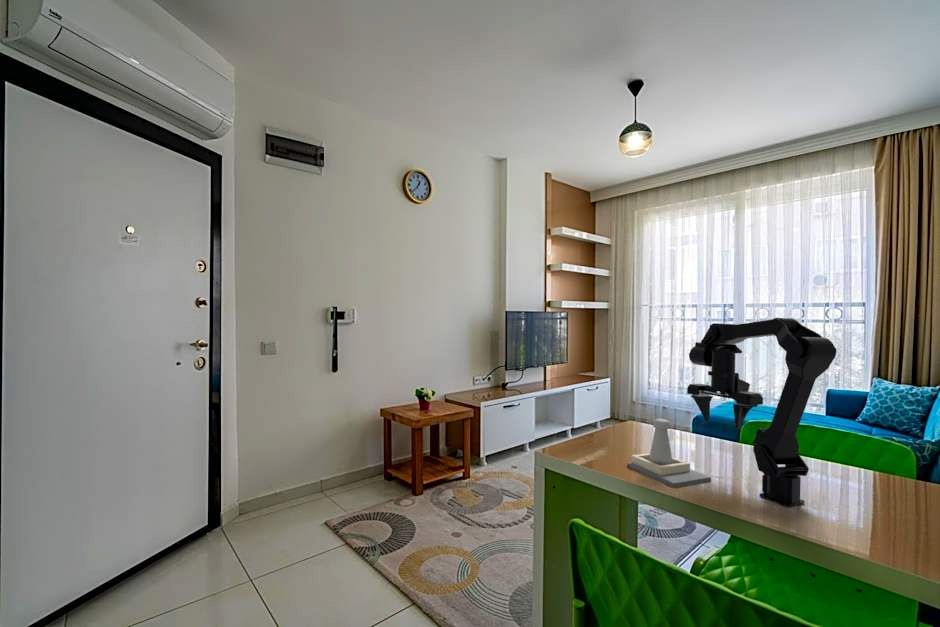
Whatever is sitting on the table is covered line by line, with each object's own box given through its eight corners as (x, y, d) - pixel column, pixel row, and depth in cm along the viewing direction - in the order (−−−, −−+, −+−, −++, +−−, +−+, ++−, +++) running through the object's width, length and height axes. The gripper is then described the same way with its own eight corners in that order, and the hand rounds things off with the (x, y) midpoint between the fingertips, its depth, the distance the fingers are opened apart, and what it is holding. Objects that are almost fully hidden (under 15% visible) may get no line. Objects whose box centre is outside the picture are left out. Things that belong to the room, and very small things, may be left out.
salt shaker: (675, 470, 115) (676, 422, 115) (654, 470, 115) (655, 421, 115) (666, 463, 121) (667, 417, 121) (645, 462, 121) (646, 416, 121)
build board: (710, 481, 111) (711, 469, 111) (673, 487, 106) (674, 475, 106) (661, 461, 126) (661, 451, 126) (627, 466, 121) (627, 455, 121)
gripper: (776, 372, 113) (776, 431, 113) (712, 364, 131) (711, 416, 130) (749, 372, 109) (748, 434, 109) (686, 365, 126) (685, 418, 126)
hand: (722, 425), depth 119 cm, fingers open, 9 cm apart
